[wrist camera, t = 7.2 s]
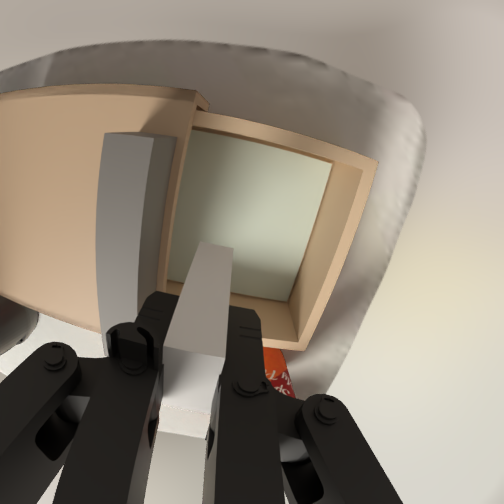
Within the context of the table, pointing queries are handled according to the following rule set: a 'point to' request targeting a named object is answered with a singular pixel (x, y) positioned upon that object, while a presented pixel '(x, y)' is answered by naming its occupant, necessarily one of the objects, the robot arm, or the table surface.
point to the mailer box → (269, 218)
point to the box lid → (90, 197)
